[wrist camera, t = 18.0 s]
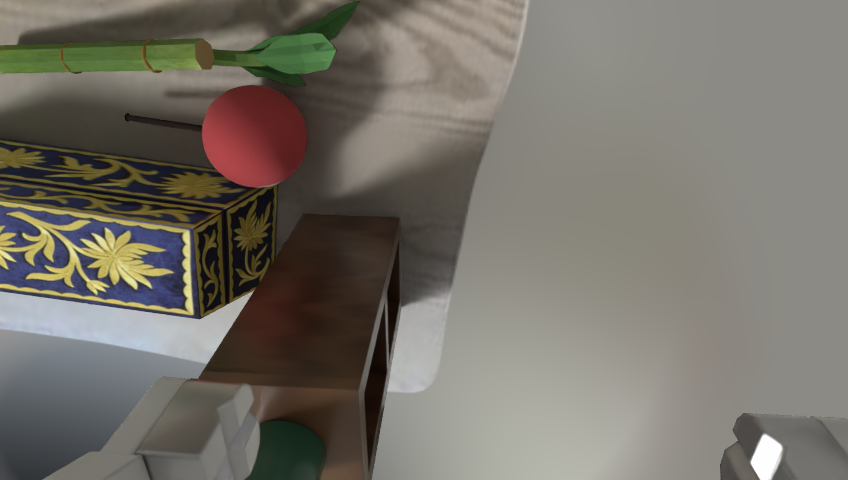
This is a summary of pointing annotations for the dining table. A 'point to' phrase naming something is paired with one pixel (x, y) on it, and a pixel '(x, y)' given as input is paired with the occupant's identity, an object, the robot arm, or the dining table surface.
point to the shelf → (323, 336)
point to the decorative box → (130, 231)
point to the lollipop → (249, 135)
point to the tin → (288, 453)
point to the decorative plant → (188, 54)
